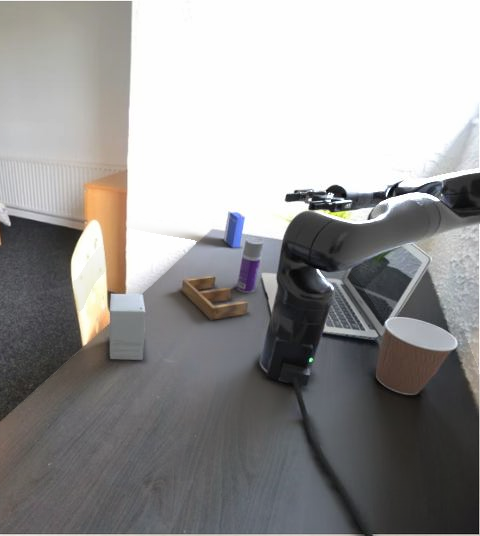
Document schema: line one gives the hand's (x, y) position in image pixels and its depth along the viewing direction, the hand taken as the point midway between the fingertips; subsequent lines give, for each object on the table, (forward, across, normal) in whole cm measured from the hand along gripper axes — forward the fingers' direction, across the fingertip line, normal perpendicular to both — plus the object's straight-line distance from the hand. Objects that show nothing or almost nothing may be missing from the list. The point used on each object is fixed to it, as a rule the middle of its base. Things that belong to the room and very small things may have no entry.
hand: (297, 202), depth 100 cm
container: (+11, 0, +25) cm, 27 cm away
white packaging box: (+54, +18, +25) cm, 62 cm away
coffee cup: (+6, +41, +25) cm, 48 cm away
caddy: (+24, +4, +25) cm, 35 cm away
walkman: (-5, -32, +25) cm, 41 cm away
